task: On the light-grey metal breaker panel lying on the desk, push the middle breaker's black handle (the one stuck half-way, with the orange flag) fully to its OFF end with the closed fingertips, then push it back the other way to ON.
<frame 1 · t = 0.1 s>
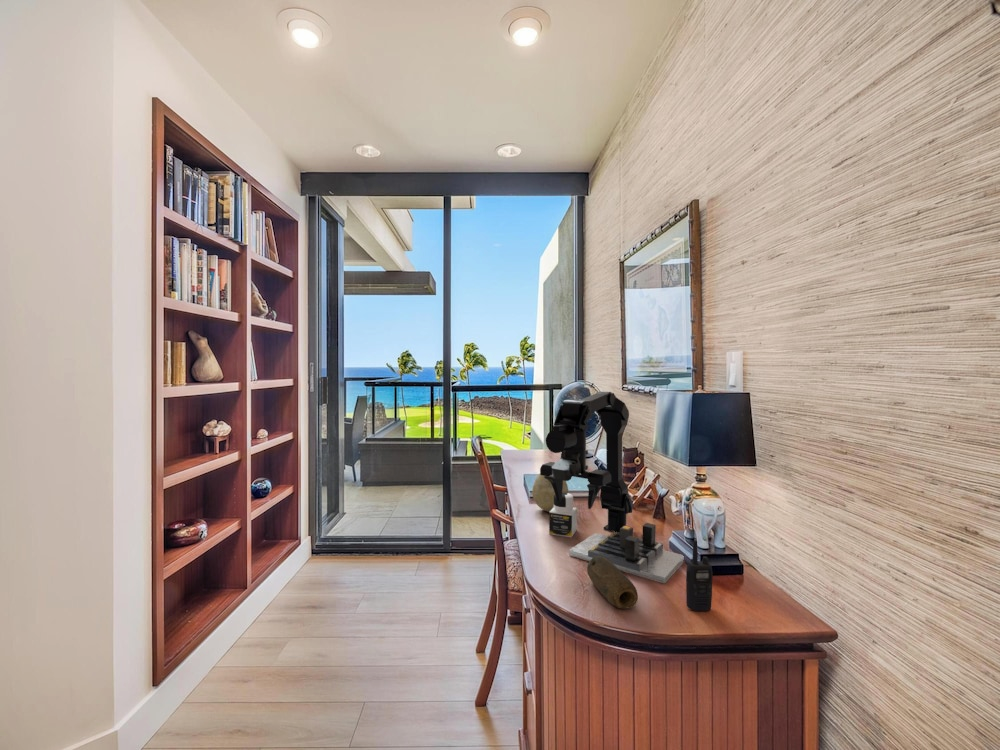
hand: (574, 505, 123), 15 cm above the table, fingers open, 9 cm apart
two-way radio: (697, 607, 100), on the table
tripped breaker handle: (626, 536, 124), point 6 cm above the table, slide at 0.0 cm
stone weight: (610, 596, 105), on the table
medicine bottle: (563, 532, 143), on the table
fossilized egg: (550, 511, 164), on the table
breaker panel: (626, 558, 124), on the table
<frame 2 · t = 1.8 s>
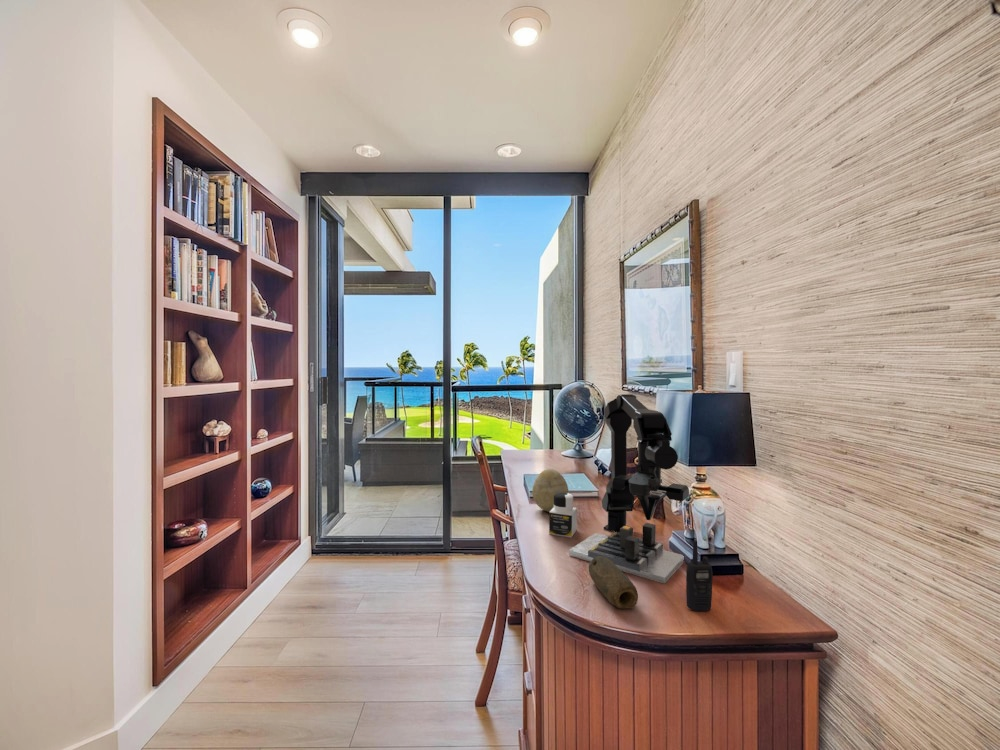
hand: (648, 519, 120), 12 cm above the table, fingers closed
nothing on the table moved.
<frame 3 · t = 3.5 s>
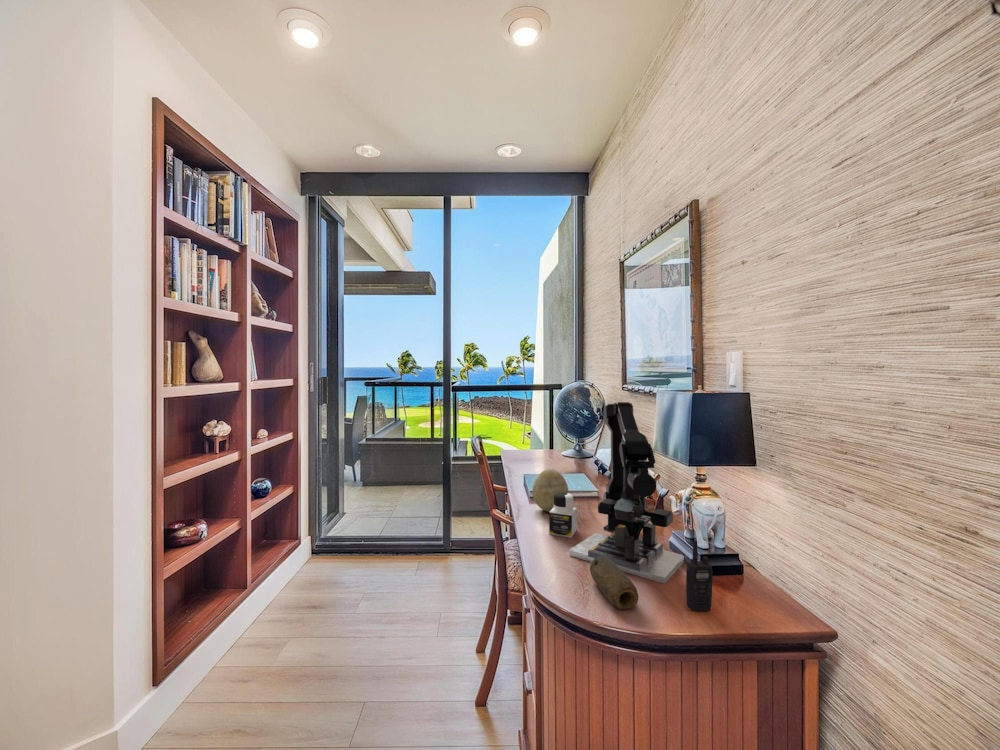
hand: (633, 543, 123), 4 cm above the table, fingers closed
tripped breaker handle: (621, 535, 125), point 6 cm above the table, slide at -1.4 cm, touching gripper
everything else where it was.
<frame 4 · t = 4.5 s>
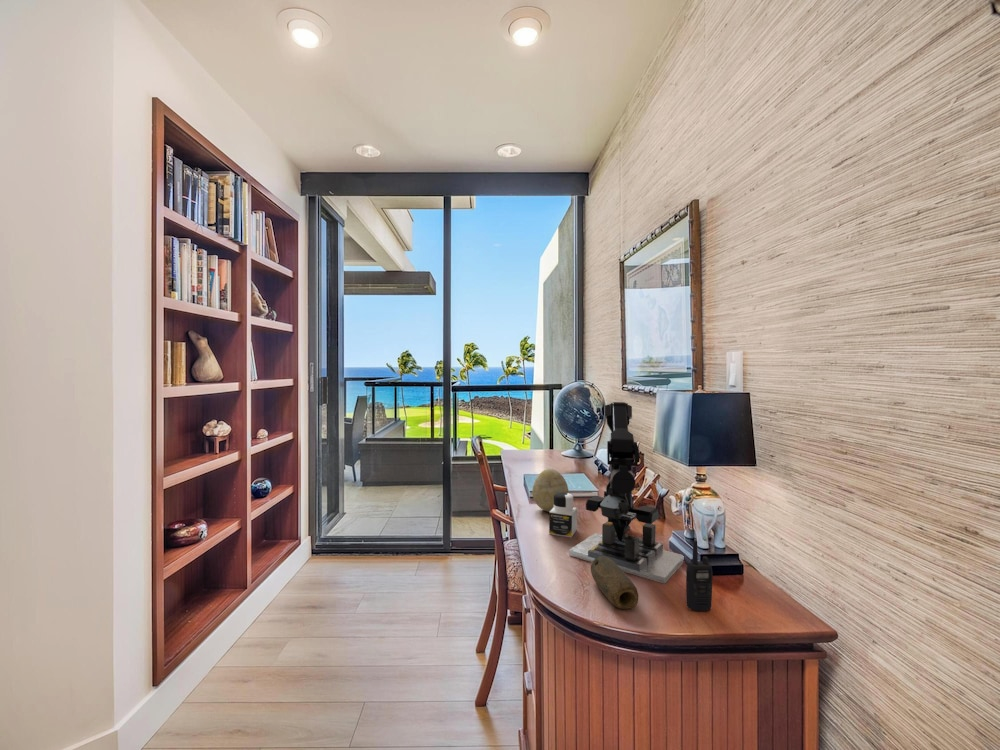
hand: (620, 540, 125), 4 cm above the table, fingers closed
tripped breaker handle: (608, 532, 127), point 6 cm above the table, slide at -5.1 cm, touching gripper
everything else where it was.
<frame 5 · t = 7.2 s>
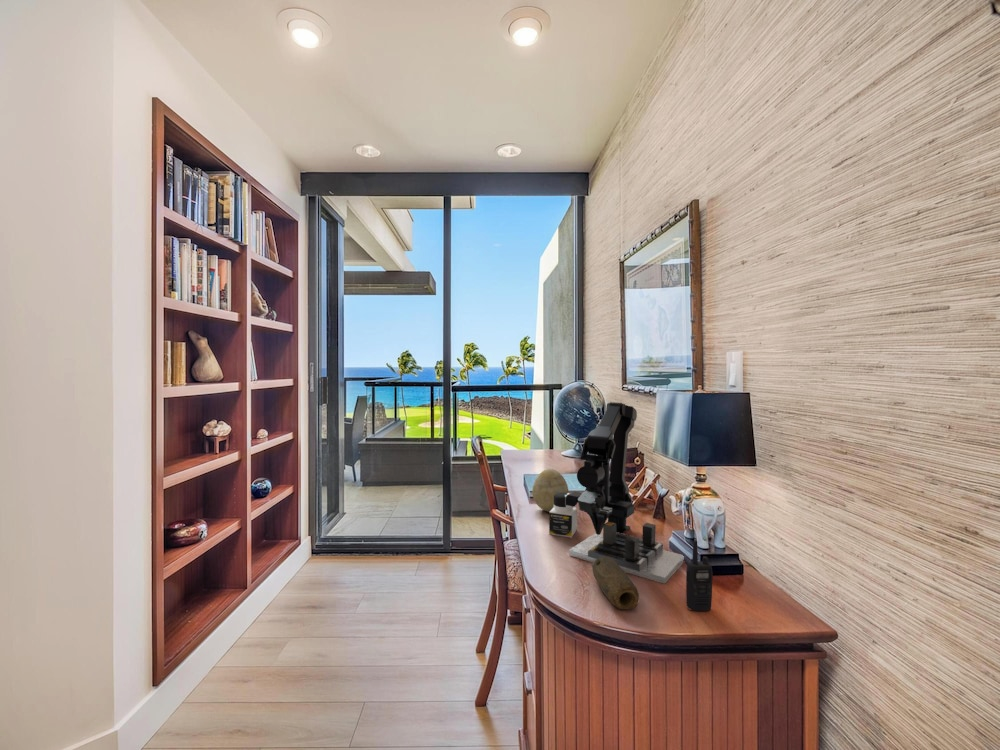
hand: (598, 534, 129), 5 cm above the table, fingers closed
nothing on the table moved.
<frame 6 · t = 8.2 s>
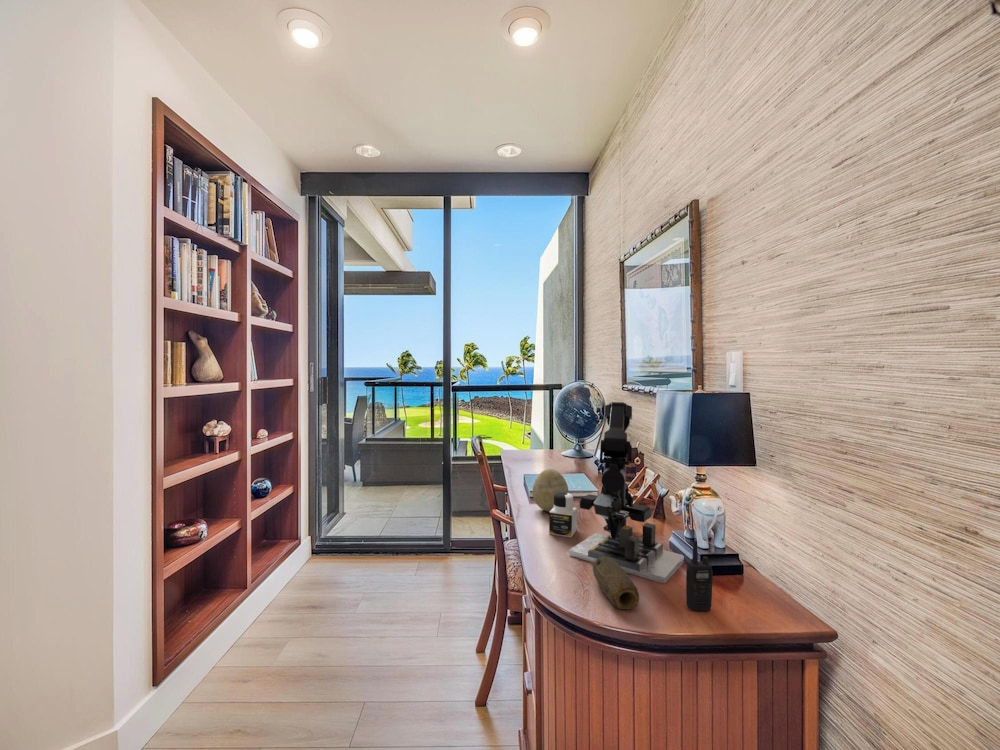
hand: (614, 538, 127), 5 cm above the table, fingers closed
tripped breaker handle: (625, 536, 124), point 6 cm above the table, slide at -0.1 cm, touching gripper
everything else where it was.
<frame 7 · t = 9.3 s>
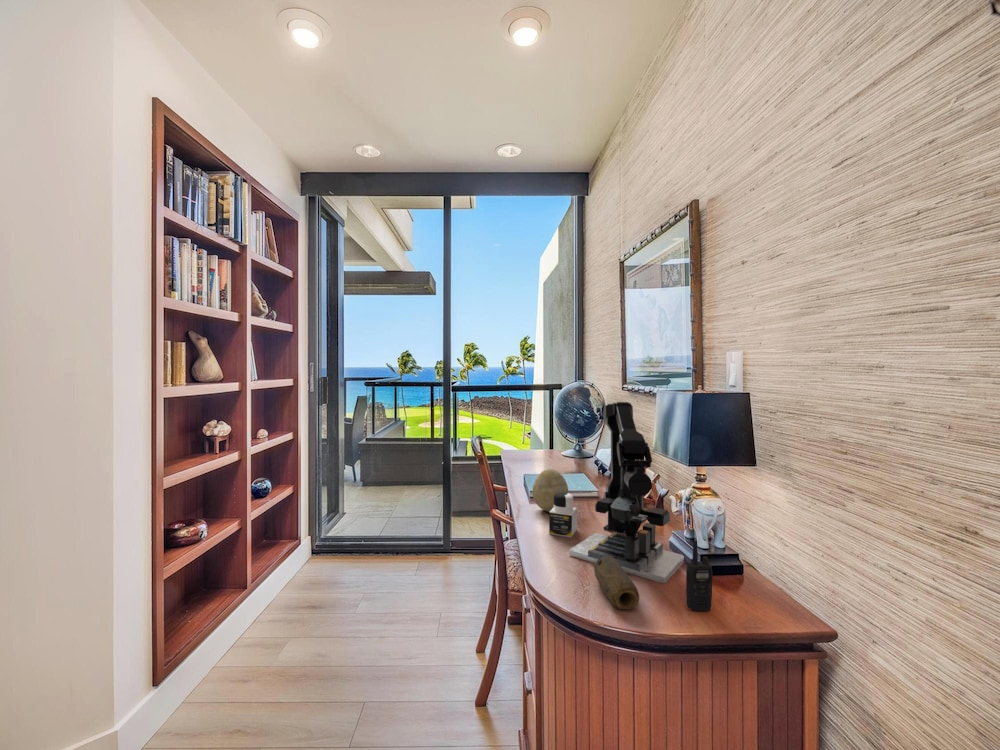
hand: (631, 542, 124), 5 cm above the table, fingers closed
tripped breaker handle: (643, 541, 121), point 6 cm above the table, slide at 4.7 cm, touching gripper
everything else where it was.
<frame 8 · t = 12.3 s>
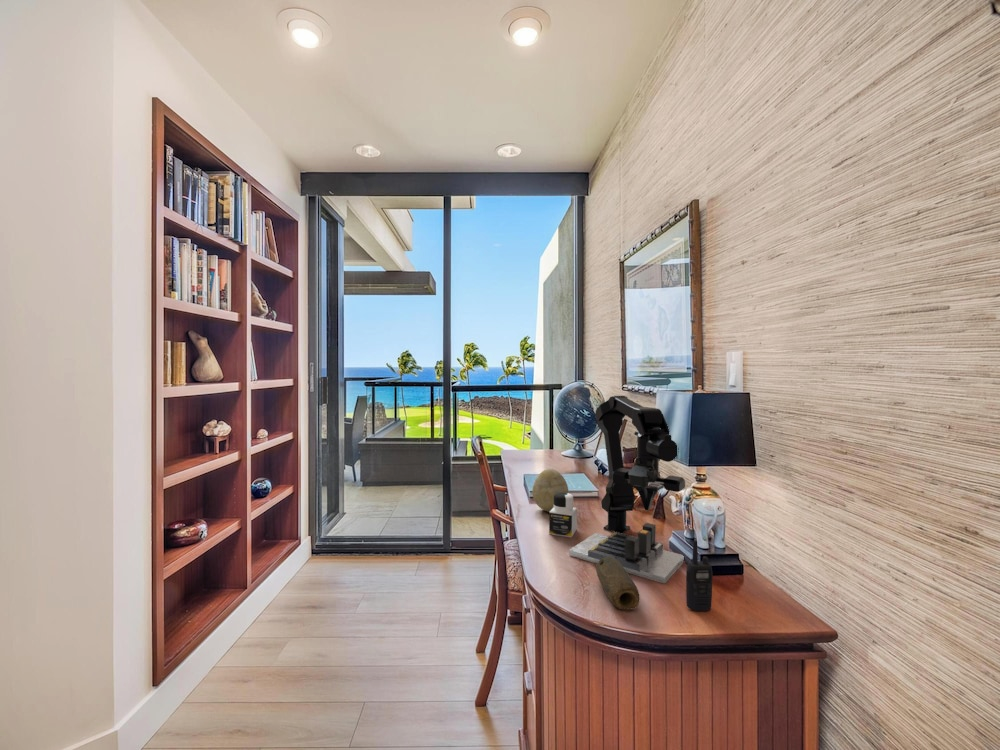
hand: (647, 509, 128), 12 cm above the table, fingers closed
tripped breaker handle: (643, 541, 121), point 6 cm above the table, slide at 4.8 cm
at the end: tripped breaker handle slide at 4.8 cm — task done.
